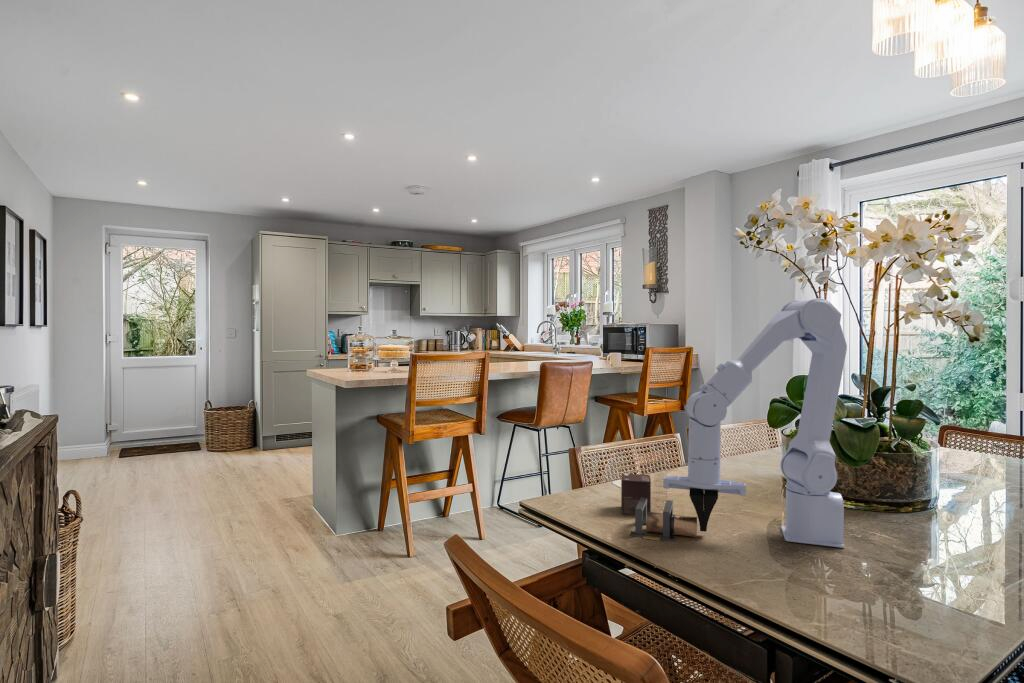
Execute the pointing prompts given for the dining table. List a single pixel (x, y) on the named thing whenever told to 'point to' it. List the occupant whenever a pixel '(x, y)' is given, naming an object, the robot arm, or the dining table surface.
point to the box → (635, 492)
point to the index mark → (651, 538)
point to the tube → (672, 524)
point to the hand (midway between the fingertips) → (703, 529)
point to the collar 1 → (640, 518)
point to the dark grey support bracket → (667, 522)
